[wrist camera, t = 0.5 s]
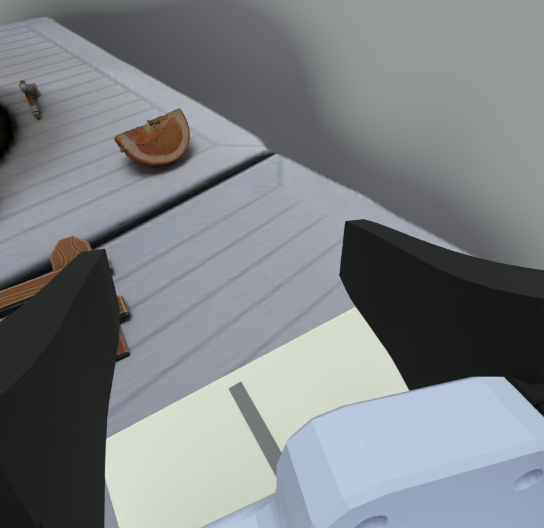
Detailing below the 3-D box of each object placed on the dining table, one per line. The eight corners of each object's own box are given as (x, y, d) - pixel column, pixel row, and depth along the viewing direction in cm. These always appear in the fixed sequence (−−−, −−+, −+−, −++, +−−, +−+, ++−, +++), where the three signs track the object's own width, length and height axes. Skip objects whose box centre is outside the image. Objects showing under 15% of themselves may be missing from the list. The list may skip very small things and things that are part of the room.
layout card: (600, 562, 22) (604, 561, 21) (239, 947, 14) (238, 953, 14) (364, 304, 33) (365, 301, 33) (97, 445, 26) (95, 443, 26)
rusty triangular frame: (29, 119, 52) (12, 81, 50) (35, 117, 59) (21, 84, 57) (44, 115, 53) (28, 78, 51) (48, 114, 59) (34, 81, 57)
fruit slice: (141, 187, 44) (129, 146, 40) (111, 161, 47) (97, 121, 43) (203, 157, 48) (197, 117, 44) (171, 135, 51) (163, 96, 47)
